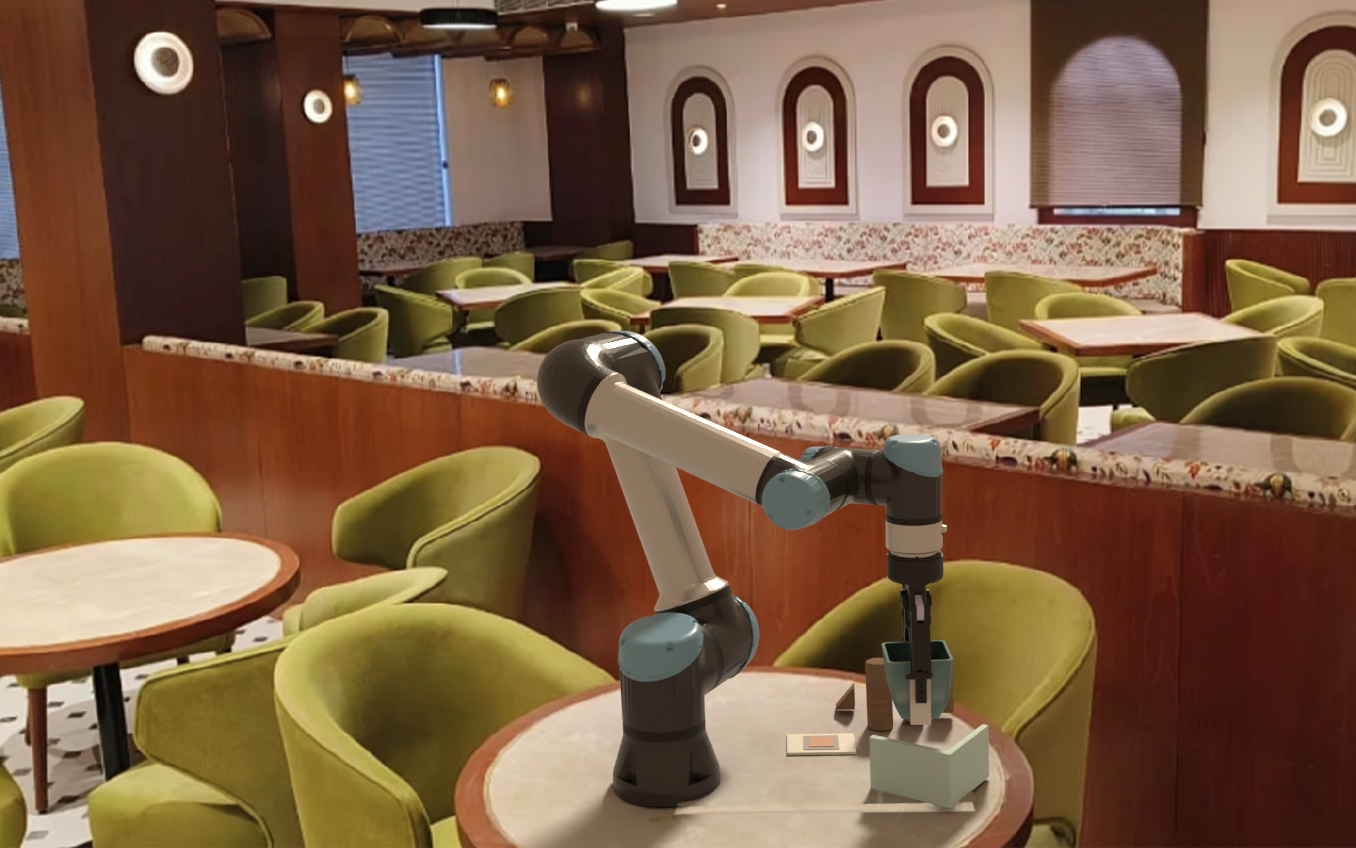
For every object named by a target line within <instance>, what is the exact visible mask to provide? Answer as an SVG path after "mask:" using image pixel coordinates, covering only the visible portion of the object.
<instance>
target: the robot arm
mask: <svg viewBox="0 0 1356 848" xmlns="http://www.w3.org/2000/svg"><path fill="white" fill-rule="evenodd" d="M665 380H666V367H665V362H664V360H663V358H662V355H661V353H660V352H659V350H658V349H657V347H656V346H655V345H654V344H653V342H651V340H649V339H648V338H646V337H645V336H643V335H641V334H639V333H636V332H633V331H628V330H619V331H617V330H609V331H607V332H602V333H599V334H595V335H591V336H590V335H589V336H587V337H583V338H582V337H581V338H578V339H571V340H568V341H564V342H562V343H560V344H558V345H556V346H555V347H554V348H552V349H551V350H550V351H549V352H547V354H546V355H545V356H544V358H543V360H542V361H541V363H540V365H539V368H538V371H537V377H536V385H537V386H536V389H537V392H538V396H539V398H540V401H541V403H542V405H543V406H544V408H545V409H546V410H547V412H548V413H549V414H550V415H552V417H554V418H555V419H556V420H557V421H559V422H561V424H563V425H564V426H567V427H569V428H572V429H573V430H575V431H578V432H580V433H581V434H584V435H586V436H588V437H590V438H593V439H600V440H602V441H603V442H604V443H605V446H606V449H607V451H608V455H609V457H610V460H611V463H612V465H613V468H614V471H615V474H616V476H617V480H618V482H619V484H620V485H619V486H620V488H621V490H622V493H623V496H624V498H625V502H626V504H627V508H628V510H629V512H630V515H631V518H632V520H633V523H634V526H635V529H636V532H637V535H638V538H639V541H640V543H641V546H642V548H643V552H644V554H645V557H646V560H647V562H648V566H649V568H650V571H651V573H652V574H651V575H652V576H653V579H654V583H655V585H656V587H657V591H658V594H659V596H658V599H657V601H656V603H655V606H654V608H653V609H654V612H655V613H654V614H652V615H651V616H646V615H645V616H643V617H639V618H638V619H636V620H634V621H632V622H631V623H629V624H628V625H627V626H626V627H625V628H624V629H623V630H622V632H621V635H620V637H619V640H618V652H617V653H618V654H617V664H618V667H619V683H620V698H621V716H622V717H621V718H622V737H621V741H620V745H619V748H618V752H617V756H616V759H615V763H614V766H613V771H612V782H613V783H612V785H613V787H612V788H613V790H614V793H616V795H617V796H618V797H619V798H620V799H623V800H625V801H627V802H630V803H632V804H637V805H641V806H648V807H676V806H678V804H682V803H686V802H691V801H695V800H698V799H701V798H704V797H706V796H708V795H710V794H711V793H713V792H714V791H715V790H716V789H717V788H718V786H720V784H721V768H720V764H719V761H718V758H717V755H716V753H715V750H714V747H713V745H712V742H711V740H710V737H709V735H708V732H707V726H706V705H705V704H706V701H705V699H706V698H705V695H707V694H709V693H710V692H711V691H714V690H715V689H716V688H718V687H719V686H720V685H722V684H723V683H725V682H726V681H728V680H731V679H732V678H734V677H736V676H737V675H738V674H740V673H741V672H742V671H743V670H744V669H745V667H746V666H747V665H749V663H750V662H751V661H752V660H753V659H754V656H755V654H756V653H757V650H758V647H759V644H760V643H759V642H760V641H759V640H760V629H759V624H758V621H757V618H756V614H754V613H755V612H754V611H753V610H752V609H751V606H749V605H748V603H746V602H745V601H742V600H741V599H740V598H739V597H738V596H736V595H734V594H733V592H732V589H731V586H730V584H729V582H728V580H726V579H723V578H722V577H719V576H717V575H716V574H715V572H714V569H713V567H712V565H711V562H710V559H709V556H708V553H707V550H706V548H705V545H704V541H703V539H702V537H701V534H700V531H699V528H698V525H697V523H696V519H695V517H694V514H693V512H692V511H693V510H692V509H691V506H690V503H689V500H688V497H687V494H686V492H685V489H684V487H683V486H684V485H683V484H682V481H681V479H680V475H679V472H678V469H679V470H681V471H684V472H685V473H688V474H690V475H692V476H695V477H696V478H699V479H701V480H703V481H705V482H707V483H709V484H712V485H714V486H717V487H719V488H721V489H722V490H725V491H727V492H729V493H731V494H734V495H736V496H738V497H740V498H742V499H745V500H747V501H749V502H752V503H754V504H756V505H757V506H760V507H762V509H763V511H764V514H765V515H766V516H767V517H768V519H769V520H770V521H771V522H772V524H773V525H774V526H777V527H778V528H781V529H783V530H786V531H797V530H800V529H804V528H807V527H810V526H813V525H816V524H817V523H819V522H821V520H822V519H824V518H825V517H827V516H829V515H831V514H833V513H834V512H836V511H838V510H840V509H842V508H843V507H846V506H848V505H849V504H855V505H856V504H857V505H869V506H870V505H871V506H884V509H885V520H884V521H885V547H886V549H887V550H889V551H888V552H887V553H886V575H887V576H886V577H887V578H888V580H889V581H891V582H892V583H895V584H899V585H902V586H901V587H902V588H901V589H899V601H900V604H901V605H900V606H901V607H900V609H901V610H900V611H901V618H902V636H901V642H909V645H910V664H911V673H910V675H905V677H906V680H910V722H909V723H910V725H911V726H920V725H921V726H922V725H923V726H930V725H931V726H932V718H931V679H932V676H933V673H932V669H931V641H930V640H931V625H932V615H931V607H932V605H933V602H932V594H930V589H929V588H926V586H928V585H930V584H936V583H938V582H940V581H941V580H942V579H943V578H944V553H943V552H942V551H941V549H942V548H943V547H944V546H943V545H944V542H943V535H942V534H943V533H947V531H948V527H947V525H945V524H943V474H944V468H943V463H942V462H943V461H942V451H941V450H942V449H941V444H940V442H939V440H938V439H937V438H936V437H934V436H931V435H928V434H919V433H910V434H909V433H908V434H906V433H905V434H904V433H903V434H894V435H891V436H888V437H887V438H886V439H885V441H884V443H883V445H884V446H883V448H881V449H871V448H857V447H856V448H854V447H840V446H839V447H838V446H834V445H826V446H810V447H807V448H806V449H804V451H803V452H802V456H801V457H799V459H797V458H794V457H793V456H790V455H788V454H785V453H783V452H782V451H779V450H776V449H774V448H772V447H770V446H767V445H765V444H763V443H761V442H758V441H757V440H754V439H752V438H749V437H747V436H745V435H742V434H740V433H738V432H737V431H734V430H731V429H728V428H727V427H725V426H722V425H720V424H718V423H715V422H713V421H710V420H708V419H706V418H704V417H701V416H699V415H697V414H694V413H692V412H691V411H688V410H685V409H683V408H681V407H679V406H676V405H674V404H672V403H669V402H668V401H665V400H663V397H662V395H661V391H662V390H663V388H664V387H663V384H664V381H665ZM925 669H926V670H925Z"/></svg>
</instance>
